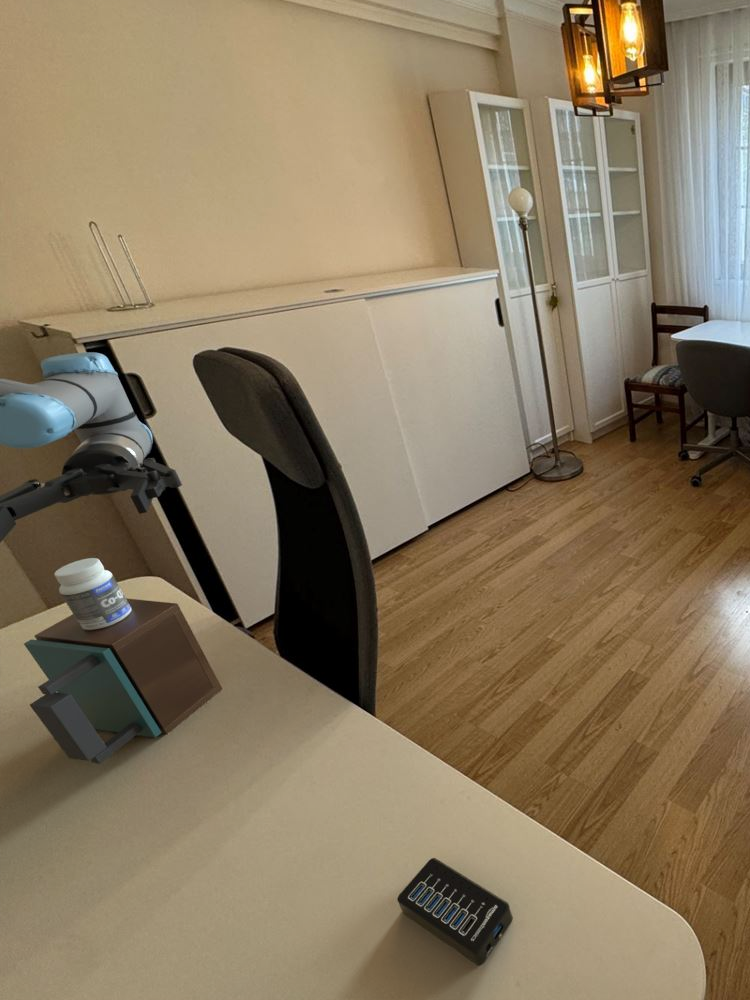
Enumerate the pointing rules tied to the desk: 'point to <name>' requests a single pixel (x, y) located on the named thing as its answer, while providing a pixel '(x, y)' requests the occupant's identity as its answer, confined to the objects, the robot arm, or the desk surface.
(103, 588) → the pill bottle
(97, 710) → the door
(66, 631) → the cabinet
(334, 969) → the desk surface
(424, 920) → the multiport hub
